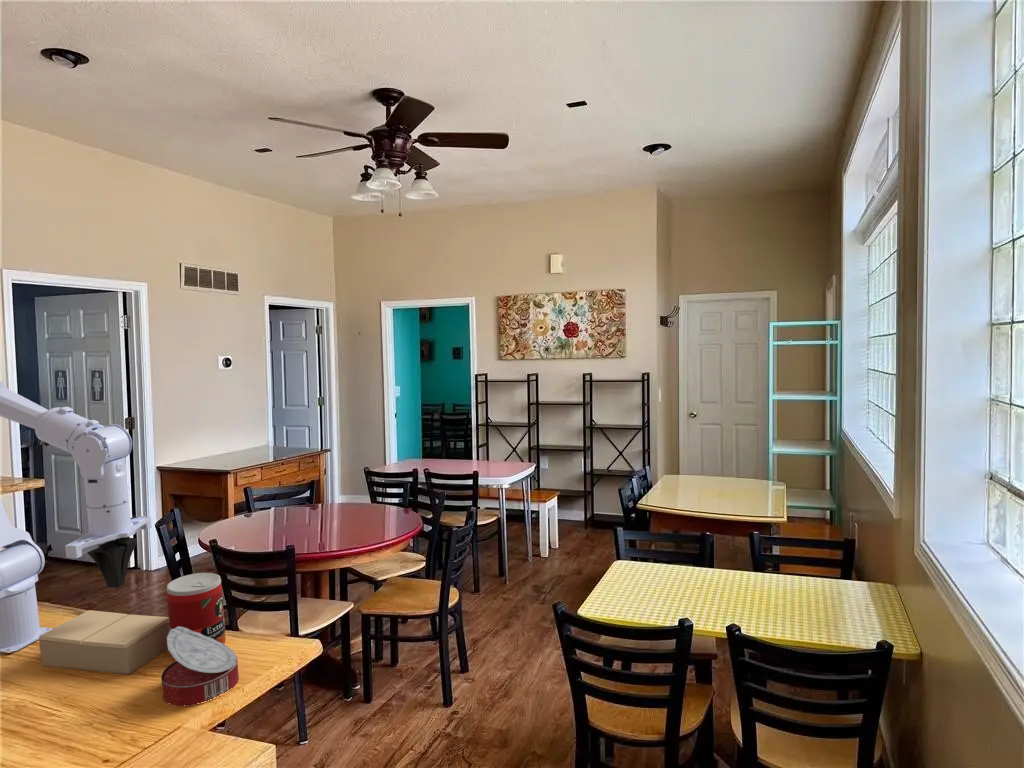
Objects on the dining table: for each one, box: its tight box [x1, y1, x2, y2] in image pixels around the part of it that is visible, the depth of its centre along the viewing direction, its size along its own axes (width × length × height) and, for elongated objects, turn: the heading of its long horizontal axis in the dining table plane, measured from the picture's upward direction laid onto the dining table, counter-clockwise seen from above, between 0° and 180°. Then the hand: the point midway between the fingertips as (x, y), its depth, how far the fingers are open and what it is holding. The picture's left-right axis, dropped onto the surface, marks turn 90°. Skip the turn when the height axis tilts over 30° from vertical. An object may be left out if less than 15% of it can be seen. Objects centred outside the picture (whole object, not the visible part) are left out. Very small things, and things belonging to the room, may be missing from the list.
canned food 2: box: [160, 626, 240, 707], centre depth 95 cm, size 11×10×10 cm
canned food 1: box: [165, 572, 227, 645], centre depth 105 cm, size 8×8×11 cm
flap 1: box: [38, 609, 129, 645], centre depth 105 cm, size 8×9×1 cm
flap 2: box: [83, 614, 169, 649], centre depth 103 cm, size 8×9×1 cm
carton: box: [38, 622, 170, 676], centre depth 104 cm, size 16×9×4 cm, turn 76°
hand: (115, 585), depth 107 cm, fingers closed
